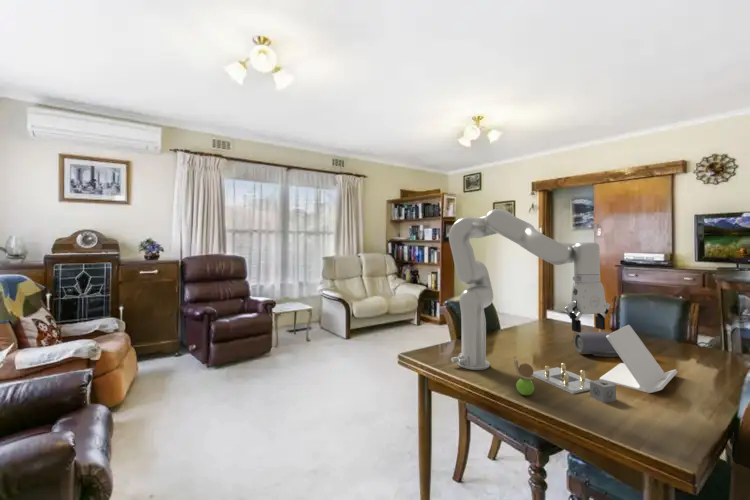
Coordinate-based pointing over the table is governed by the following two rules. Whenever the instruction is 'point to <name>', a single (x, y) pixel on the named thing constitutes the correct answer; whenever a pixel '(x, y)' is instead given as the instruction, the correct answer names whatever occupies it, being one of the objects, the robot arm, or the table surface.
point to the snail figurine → (524, 378)
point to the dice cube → (603, 391)
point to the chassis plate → (564, 379)
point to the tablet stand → (635, 364)
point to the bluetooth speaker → (594, 344)
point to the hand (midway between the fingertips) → (588, 330)
